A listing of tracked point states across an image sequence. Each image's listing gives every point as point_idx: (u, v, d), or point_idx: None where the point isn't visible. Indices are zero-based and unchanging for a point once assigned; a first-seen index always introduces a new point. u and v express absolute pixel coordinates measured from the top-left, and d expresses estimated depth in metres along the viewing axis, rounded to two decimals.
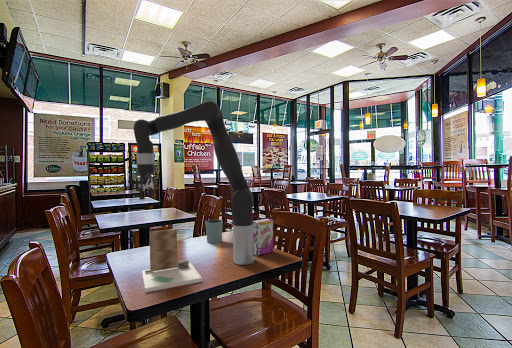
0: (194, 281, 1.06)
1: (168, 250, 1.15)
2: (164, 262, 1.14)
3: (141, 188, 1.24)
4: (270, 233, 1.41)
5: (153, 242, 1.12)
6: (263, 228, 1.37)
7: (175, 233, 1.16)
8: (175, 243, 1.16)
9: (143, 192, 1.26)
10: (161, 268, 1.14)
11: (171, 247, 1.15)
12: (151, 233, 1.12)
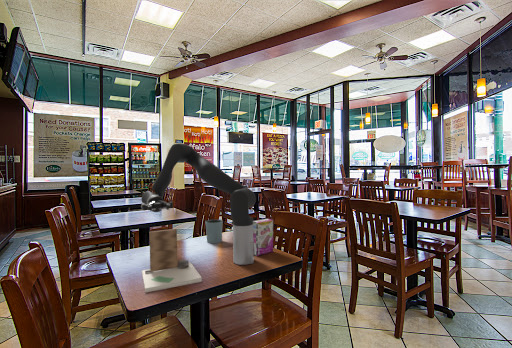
0: (194, 281, 1.06)
1: (168, 250, 1.15)
2: (164, 262, 1.14)
3: (143, 204, 1.23)
4: (270, 233, 1.41)
5: (153, 242, 1.12)
6: (263, 228, 1.37)
7: (175, 233, 1.16)
8: (175, 243, 1.16)
9: (149, 205, 1.23)
10: (161, 268, 1.14)
11: (171, 247, 1.15)
12: (151, 233, 1.12)
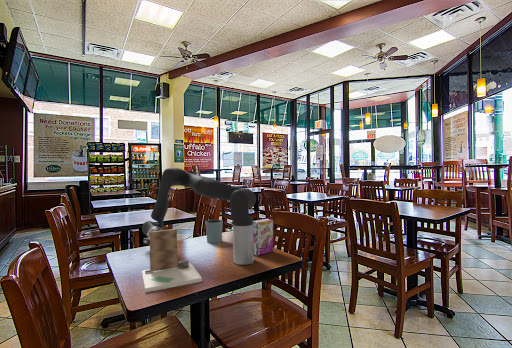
0: (194, 281, 1.06)
1: (168, 250, 1.15)
2: (164, 262, 1.14)
3: None
4: (270, 233, 1.41)
5: (153, 242, 1.12)
6: (263, 228, 1.37)
7: (175, 233, 1.16)
8: (175, 243, 1.16)
9: None
10: (161, 268, 1.14)
11: (171, 247, 1.15)
12: (151, 233, 1.12)
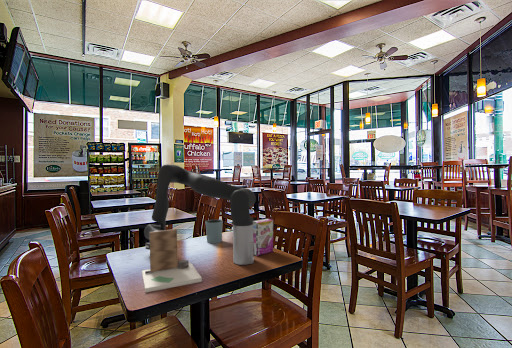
0: (194, 281, 1.06)
1: (168, 250, 1.15)
2: (164, 262, 1.14)
3: None
4: (270, 233, 1.41)
5: (153, 243, 1.12)
6: (263, 228, 1.37)
7: (175, 233, 1.16)
8: (175, 243, 1.16)
9: None
10: (161, 268, 1.14)
11: (171, 247, 1.15)
12: (151, 233, 1.11)
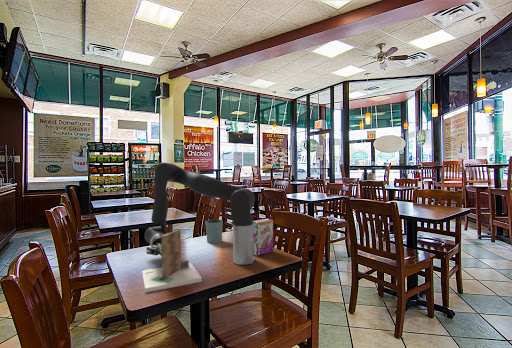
0: (194, 281, 1.06)
1: (175, 252, 1.12)
2: (173, 265, 1.11)
3: (155, 249, 1.12)
4: (270, 233, 1.41)
5: (166, 246, 1.07)
6: (263, 228, 1.37)
7: (179, 234, 1.15)
8: (179, 244, 1.15)
9: (161, 250, 1.11)
10: (171, 272, 1.10)
11: (177, 249, 1.13)
12: (165, 237, 1.06)
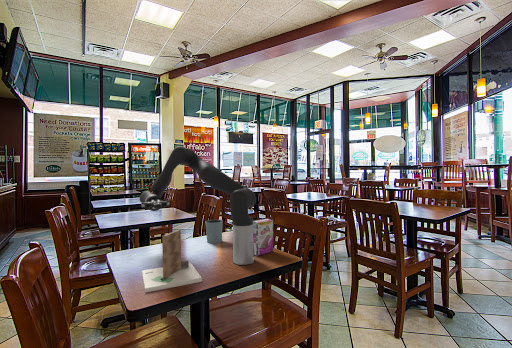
0: (194, 281, 1.06)
1: (176, 252, 1.12)
2: (174, 265, 1.11)
3: (149, 203, 1.26)
4: (270, 233, 1.41)
5: (167, 246, 1.07)
6: (263, 228, 1.37)
7: (179, 234, 1.15)
8: (179, 244, 1.15)
9: (155, 203, 1.25)
10: (172, 272, 1.10)
11: (177, 249, 1.13)
12: (166, 237, 1.06)
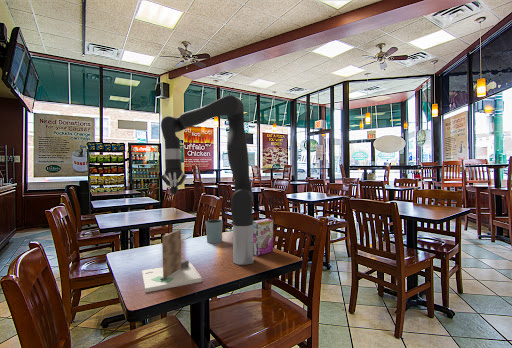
0: (194, 281, 1.06)
1: (176, 252, 1.12)
2: (174, 265, 1.11)
3: (167, 184, 1.35)
4: (270, 233, 1.41)
5: (167, 246, 1.07)
6: (263, 228, 1.37)
7: (179, 234, 1.15)
8: (179, 244, 1.15)
9: (172, 188, 1.35)
10: (172, 272, 1.10)
11: (177, 249, 1.13)
12: (166, 237, 1.06)
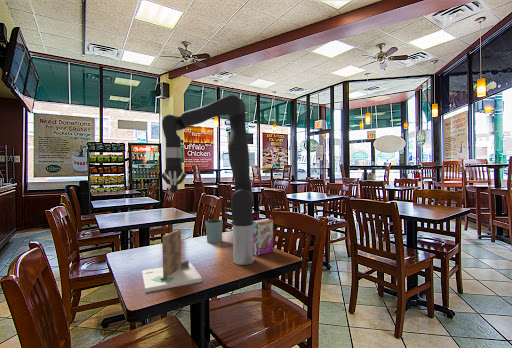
0: (194, 281, 1.06)
1: (176, 252, 1.12)
2: (174, 265, 1.11)
3: (167, 183, 1.35)
4: (270, 233, 1.41)
5: (167, 246, 1.07)
6: (263, 228, 1.37)
7: (179, 234, 1.15)
8: (179, 244, 1.15)
9: (171, 186, 1.35)
10: (172, 272, 1.10)
11: (177, 249, 1.13)
12: (166, 237, 1.06)
